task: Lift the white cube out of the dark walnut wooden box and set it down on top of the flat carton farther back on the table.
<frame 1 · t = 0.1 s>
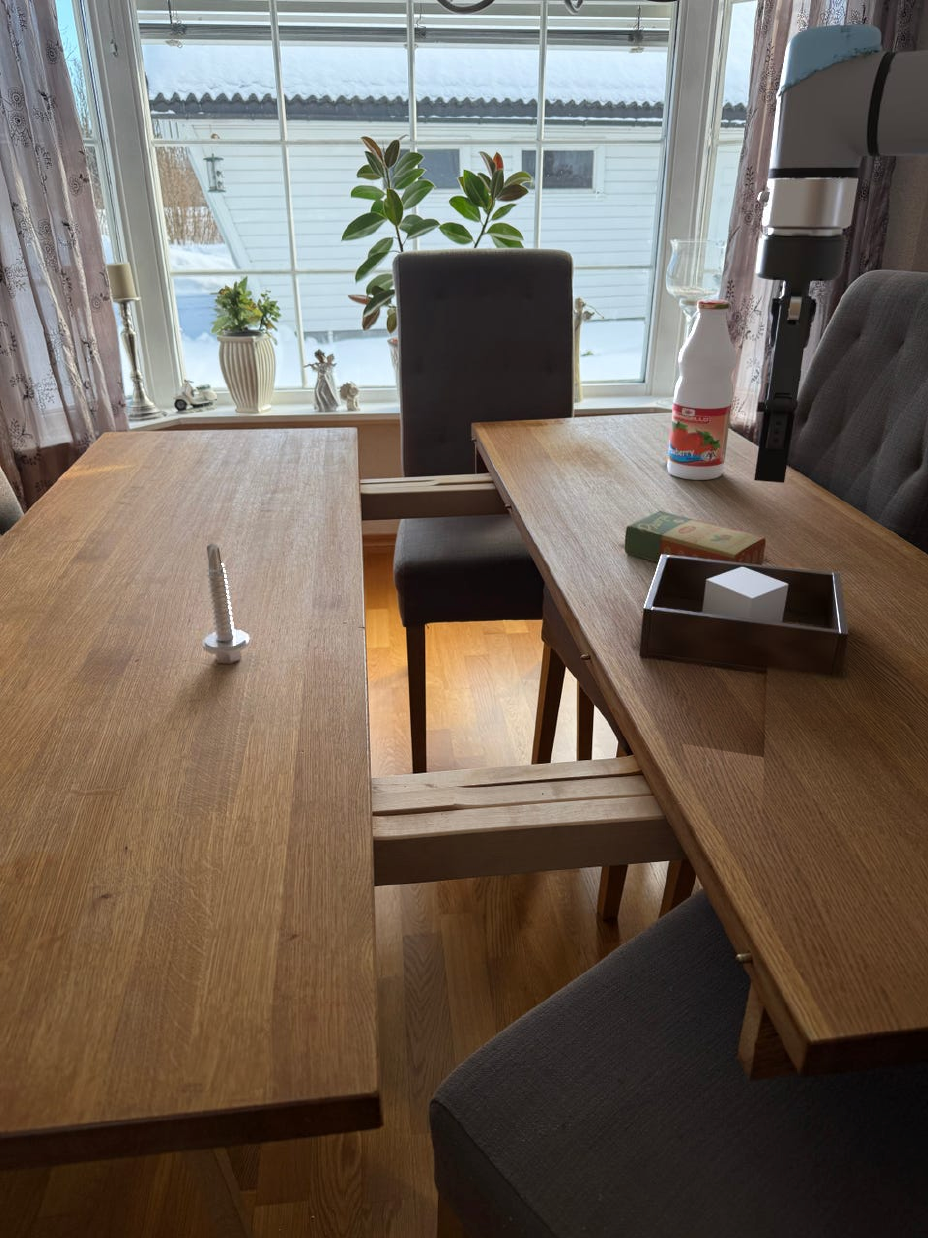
hand: (770, 461, 89), 19 cm above the table, tool pointing down, fingers open, 13 cm apart
box: (739, 636, 97), on the table
fruit juice: (694, 474, 152), on the table
white cube: (739, 633, 97), resting on box
screw: (228, 659, 93), on the table
carton: (691, 561, 117), on the table
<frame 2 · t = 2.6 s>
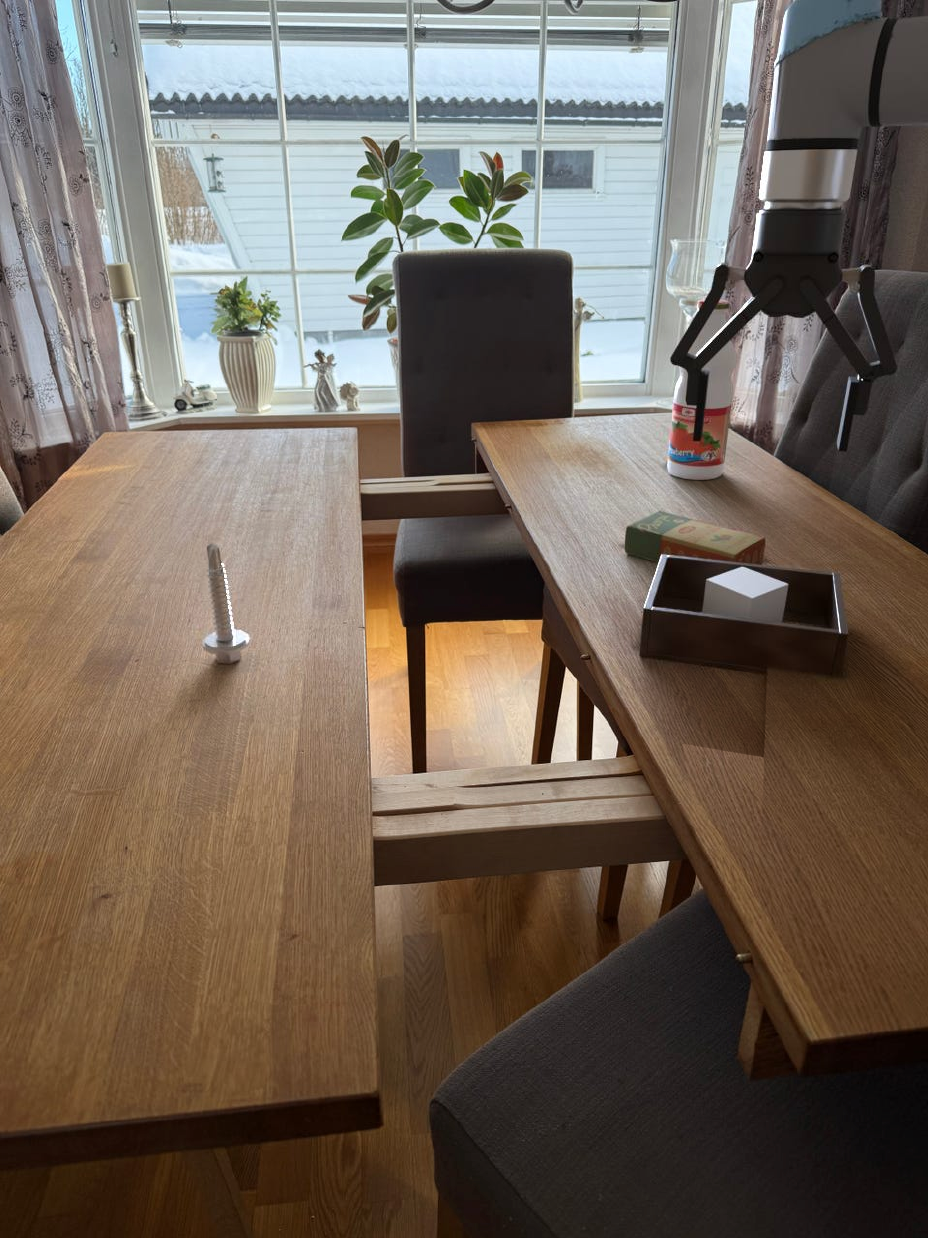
hand: (767, 443, 87), 21 cm above the table, tool pointing down, fingers open, 13 cm apart
nothing on the table moved.
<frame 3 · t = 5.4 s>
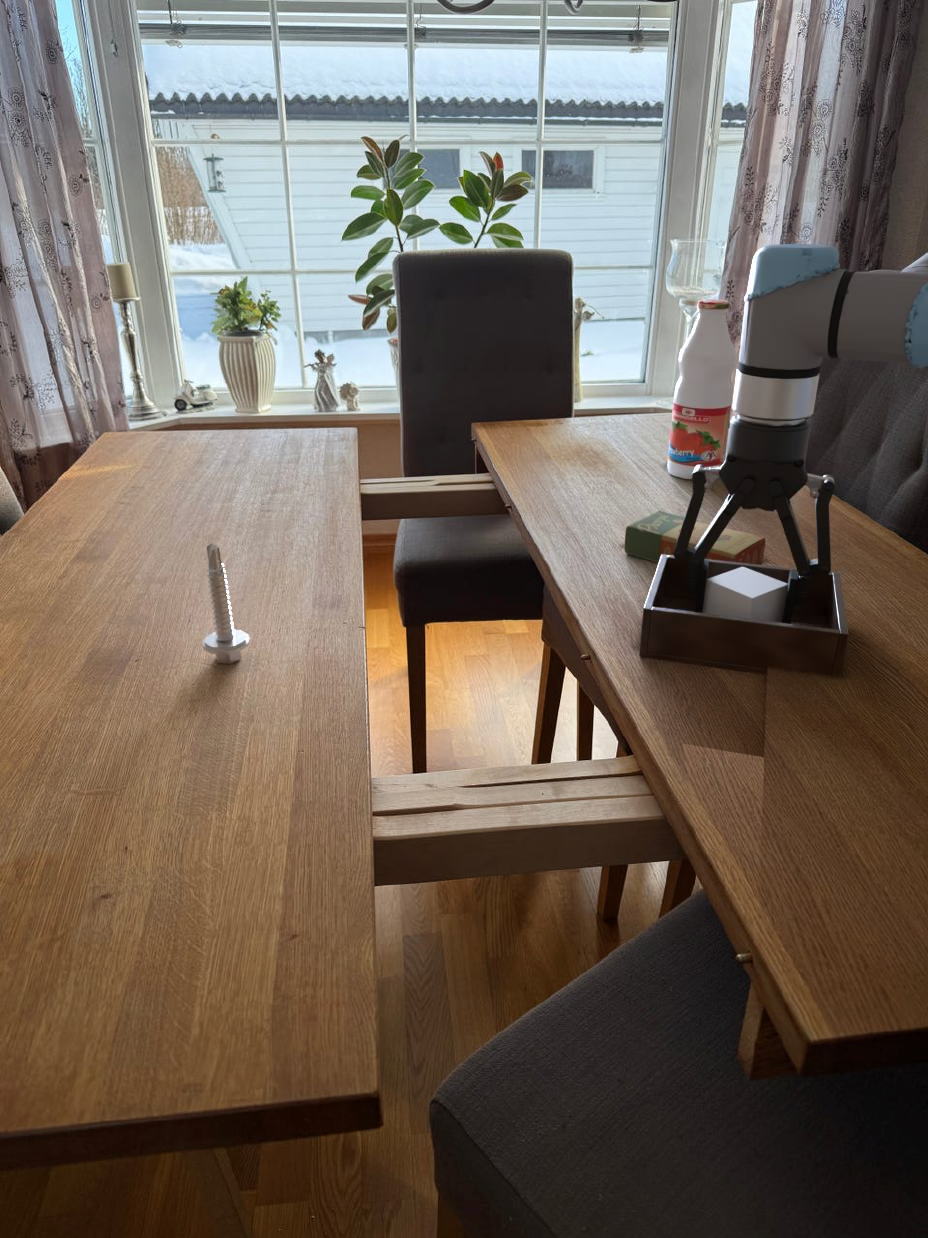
hand: (740, 624, 96), 2 cm above the table, tool pointing down, fingers closed on white cube, 8 cm apart
white cube: (739, 633, 97), resting on box, touching gripper
everything else where it was.
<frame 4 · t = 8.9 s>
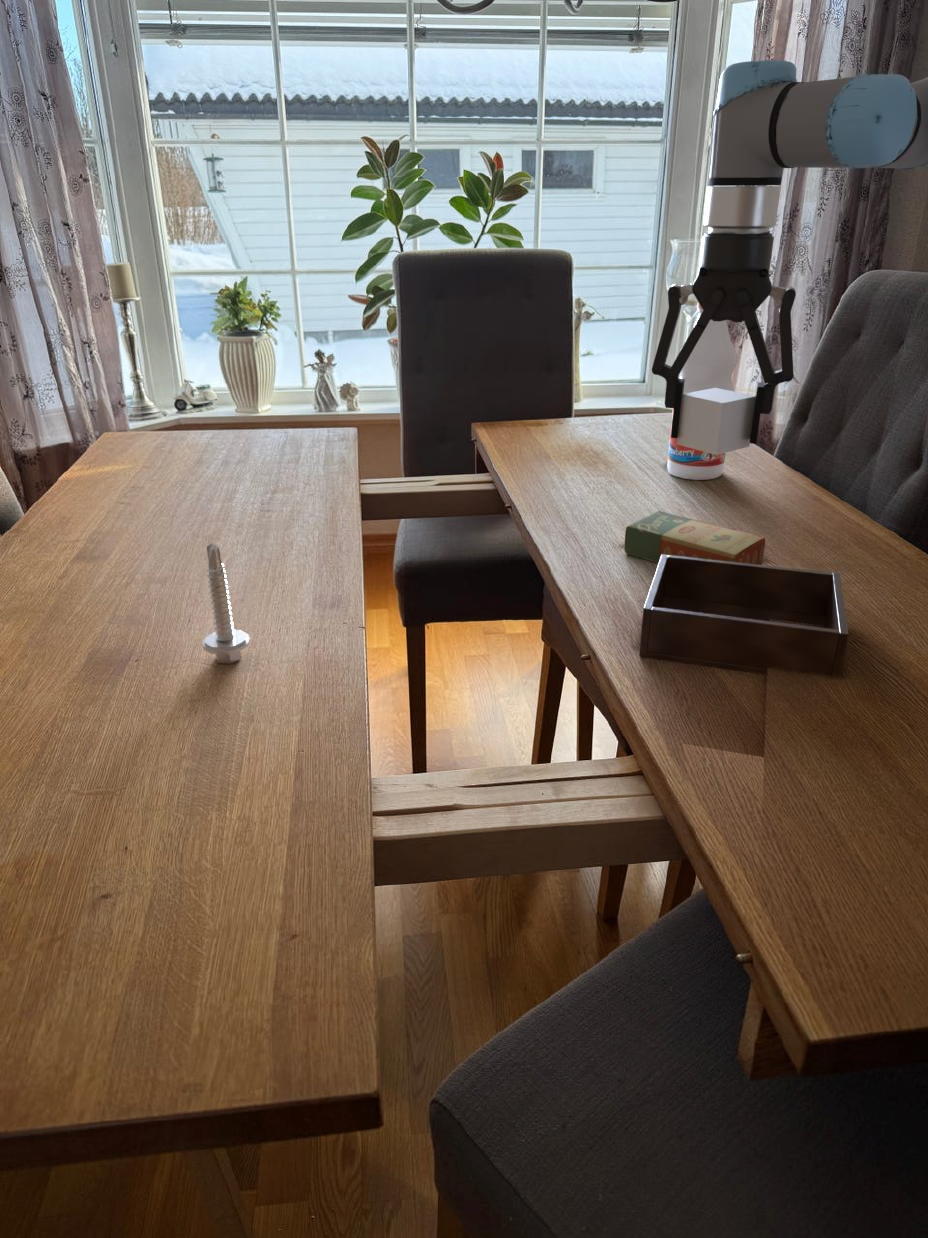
hand: (713, 437, 106), 17 cm above the table, tool pointing down, fingers closed on white cube, 8 cm apart
white cube: (712, 446, 106), point 16 cm above the table, touching gripper
everything else where it was.
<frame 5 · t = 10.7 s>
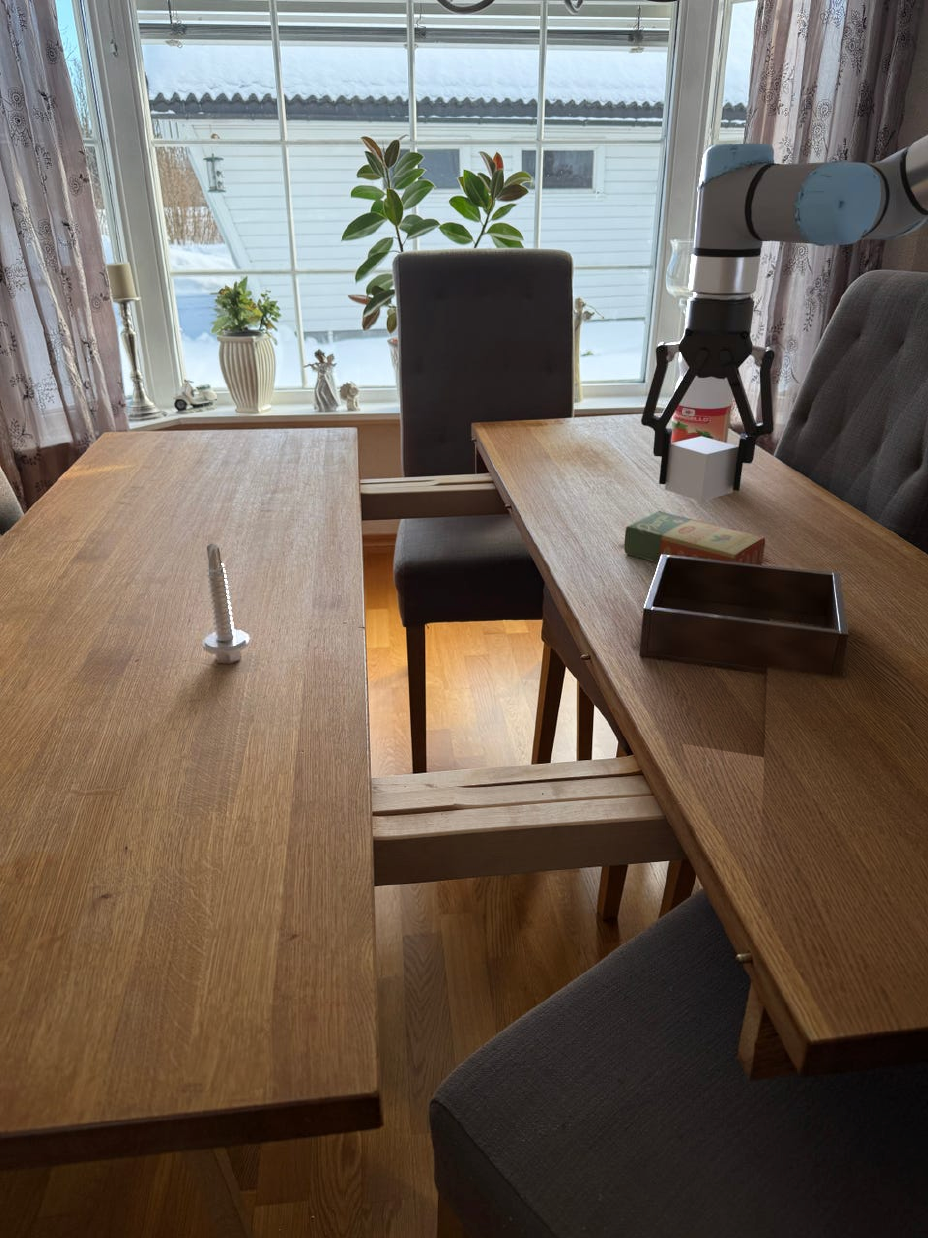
hand: (699, 484, 112), 10 cm above the table, tool pointing down, fingers closed on white cube, 8 cm apart
white cube: (698, 492, 113), point 9 cm above the table, touching gripper
everything else where it was.
when the fingers open (5 cm above the table, at t = 12.3 s): white cube stays where it is, resting on carton.
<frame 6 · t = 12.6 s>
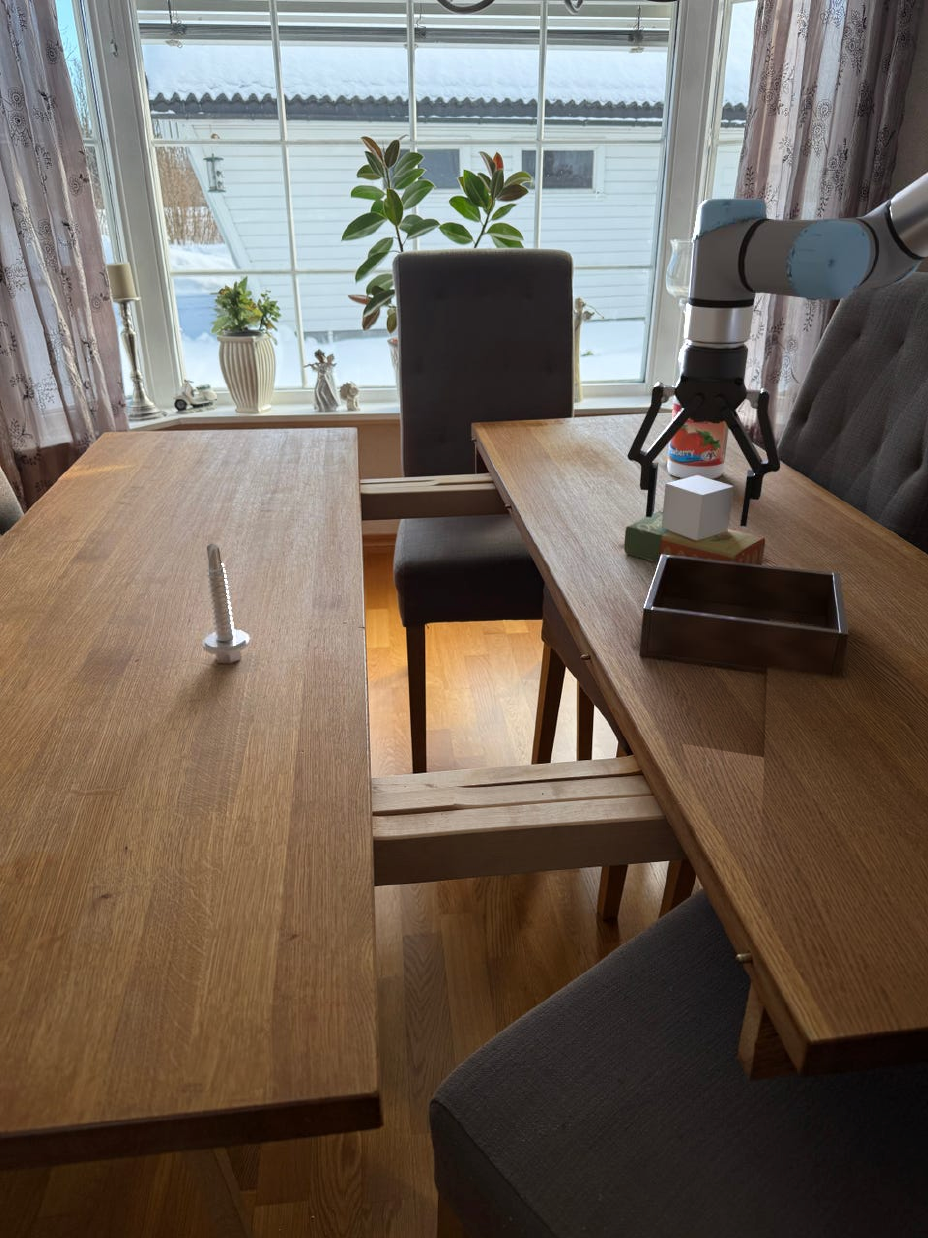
hand: (696, 518, 114), 6 cm above the table, tool pointing down, fingers open, 11 cm apart
white cube: (694, 530, 115), point 4 cm above the table, touching carton
carton: (690, 561, 117), on the table, touching white cube
everything else where it was.
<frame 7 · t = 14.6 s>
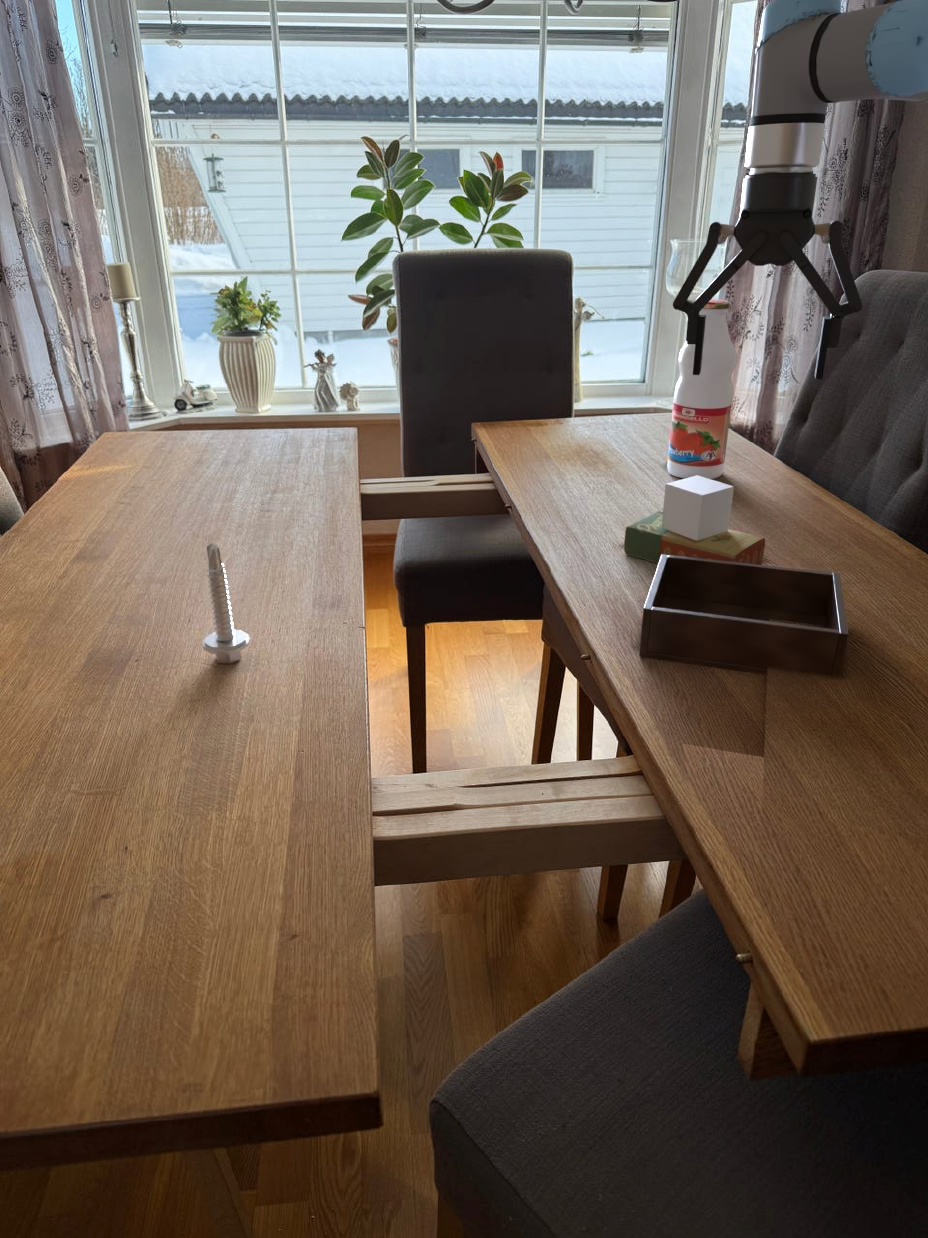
hand: (756, 375, 103), 24 cm above the table, tool pointing down, fingers open, 13 cm apart
nothing on the table moved.
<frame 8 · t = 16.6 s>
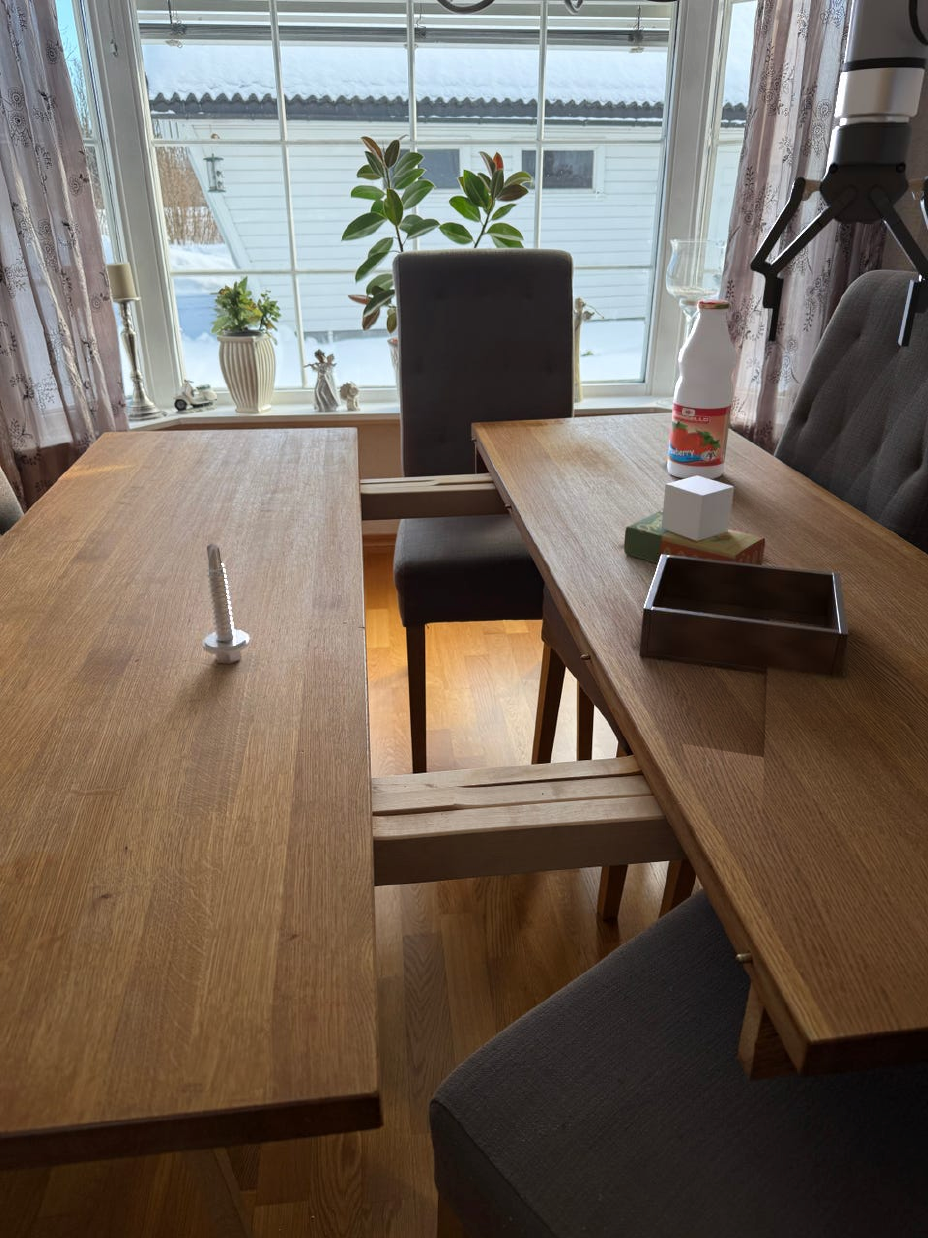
hand: (836, 342, 98), 29 cm above the table, tool pointing down, fingers open, 13 cm apart
nothing on the table moved.
at the end: white cube inside the target area on the carton (0.0 cm from its centre), point 4.3 cm above the carton's base; white cube tilted 0°; the gripper is holding nothing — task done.
